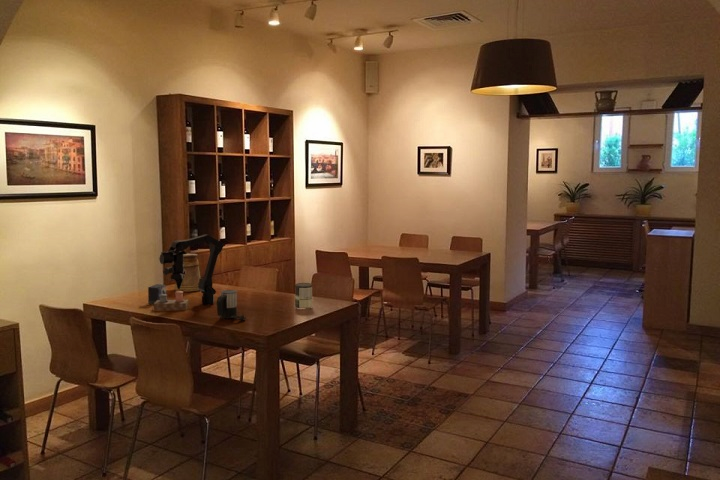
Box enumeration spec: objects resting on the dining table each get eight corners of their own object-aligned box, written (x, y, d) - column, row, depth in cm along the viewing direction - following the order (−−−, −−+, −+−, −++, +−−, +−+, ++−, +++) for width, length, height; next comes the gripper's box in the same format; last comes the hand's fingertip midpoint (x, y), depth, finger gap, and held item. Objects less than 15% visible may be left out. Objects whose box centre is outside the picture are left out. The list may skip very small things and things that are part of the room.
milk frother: (223, 315, 329) (223, 289, 328) (251, 316, 328) (250, 290, 326) (214, 321, 315) (214, 294, 314) (243, 322, 314) (243, 295, 312)
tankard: (186, 293, 385) (186, 256, 383) (164, 289, 399) (164, 252, 396) (208, 289, 400) (208, 253, 397) (186, 285, 414) (186, 250, 411)
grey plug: (168, 307, 345) (167, 293, 344) (166, 309, 341) (166, 295, 340) (160, 307, 345) (159, 294, 344) (158, 309, 340) (158, 295, 339)
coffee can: (291, 308, 348) (291, 285, 346) (300, 305, 357) (300, 282, 355) (306, 310, 343) (306, 286, 342) (315, 306, 352) (315, 283, 351)
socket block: (188, 306, 350) (188, 299, 349) (186, 310, 340) (186, 303, 339) (157, 306, 347) (156, 300, 346) (153, 310, 337) (153, 303, 337)
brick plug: (184, 304, 346) (183, 291, 346) (182, 306, 342) (182, 292, 341) (175, 304, 346) (175, 291, 345) (174, 306, 341) (174, 292, 340)
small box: (157, 304, 353) (157, 287, 351) (147, 304, 354) (147, 287, 353) (166, 301, 363) (166, 284, 362) (157, 300, 364) (156, 283, 363)
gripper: (166, 260, 349) (167, 285, 351) (161, 264, 331) (161, 292, 332) (186, 260, 351) (186, 285, 352) (181, 264, 332) (181, 291, 334)
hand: (178, 288), depth 343 cm, fingers closed
